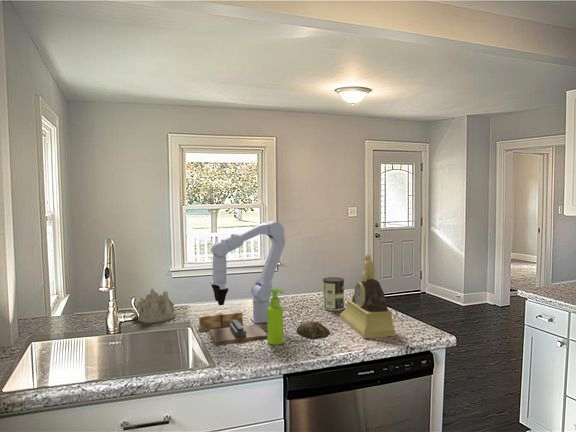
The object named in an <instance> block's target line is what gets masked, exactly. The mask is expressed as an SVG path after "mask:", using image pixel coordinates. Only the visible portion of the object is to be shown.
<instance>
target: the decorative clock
mask: <svg viewBox="0 0 576 432" xmlns="http://www.w3.org/2000/svg"><path fill="white" fill-rule="evenodd" d="M364 259H365V260H364V261H365V263H364V266H363V267H364V269H363V271H362V272H361V278H362V280H361V281H359V282H357V281H356V283H355V284H354V289H353V290H354V293H353V295H352V299H347V301H346V302H347V303H346V306H345V308H344V309H343V311H342V312H341V313H339V319H340V320H341V321H343V322H344V323H345V324H346V325H348V326H349V328H351V330H354V332H356V333H357V334H358V335H359V336H360V337H361V338H362V337H363V338H362V339H364V340H366V339H365V338H368V339H377V338H376V337H379V338H387V337H386V336H390V337H396V330H395V327H394V323H393V316H392V314H393V312H392V311H391V310H390V309H388V305H387V300H386V296H385V292H384V290H383V288H382V285H381V284H380V282H379V281H378V279H375V278H376V277H375V276H376V275H375V265H374V262H373V261H372V260H373V259H372V257H371V255H370V254H366V255H365V256H364Z"/></svg>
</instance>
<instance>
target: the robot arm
mask: <svg viewBox="0 0 576 432" xmlns="http://www.w3.org/2000/svg"><path fill="white" fill-rule="evenodd" d="M285 230H286V229H285V228H284V226H283V224H282V223H281V222H279V221H272V220H267V221H264V222H261V223H260V224H257V225H255V226H254V227H252V228H251V229H248V230H247V231H245V232H242V233H241V234H238V233H231V234H230V236H229V237H227V238H224V239H220V241H217V242H215V243H213V244H212V246H211V248H210V251H211V253H212V280H211V281H209V284H211V286H210V287H212V291H213V295H214V296H213V297H214V299H215V302H217V304H218V306H224V305H225V301H226V297H227V294H228V292H229V288H227V287H226V284H228V280H227V256H228V253H231V252H232V251H235V250H236V249H238V248H240V247H242V246H243V245H244V243H245V241H248V240H251V239H252V238H254V237H257V236H259V235H267V236H268V237H269V240H270V241H271V244H272V245H271V247H270V249H269V252H268V255H267V257H266V260H265V262H264V266H263V269H262V270H261V274H260V276H259V277H258V278H257V280H256V281H255V283H254V284H253V286H252V287H251V290H250V291H251V295H252V296H253V298H252V317H250V319H251V321H252V322H253V323H254V324H261V323H267V307H269V306H271V305H270V298H272V296H271V295H272V291H270V290H272V288H273V284H272V280H273V277H274V274H275V272H276V269H277V267H278V264H279V261H280V258H281V256H282V253H283V250H284V248H285V246H286V238H285Z"/></svg>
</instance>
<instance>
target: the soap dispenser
mask: <svg viewBox="0 0 576 432" xmlns="http://www.w3.org/2000/svg"><path fill="white" fill-rule="evenodd" d="M270 291H271V293H272V296H271V297H270V298H269V299H270V305H271V306H269V307H267V322H266V323H267V335H268V338H267V344H270V345H274V346H276V345H282V344H283V343H284V307H283V306H281V305H280V303H281V302H280V297H279V296H278V293H280V294H283V293H285V292H286V291H285V290H284V289H279V288H273V289H272V288H271V290H270Z"/></svg>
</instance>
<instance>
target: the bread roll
mask: <svg viewBox="0 0 576 432" xmlns="http://www.w3.org/2000/svg"><path fill="white" fill-rule="evenodd" d="M296 332H297V334H298V335H300V336H302V337H305V338H308V339H314V338H319V337H321V338H326V337H328V335H329V334H330V330H329V328H327V327H326V326H324V325H323V324H322V323H320V322H318V321H306V322H303V323H300V324H299V325H298V326H297V327H296Z"/></svg>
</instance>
